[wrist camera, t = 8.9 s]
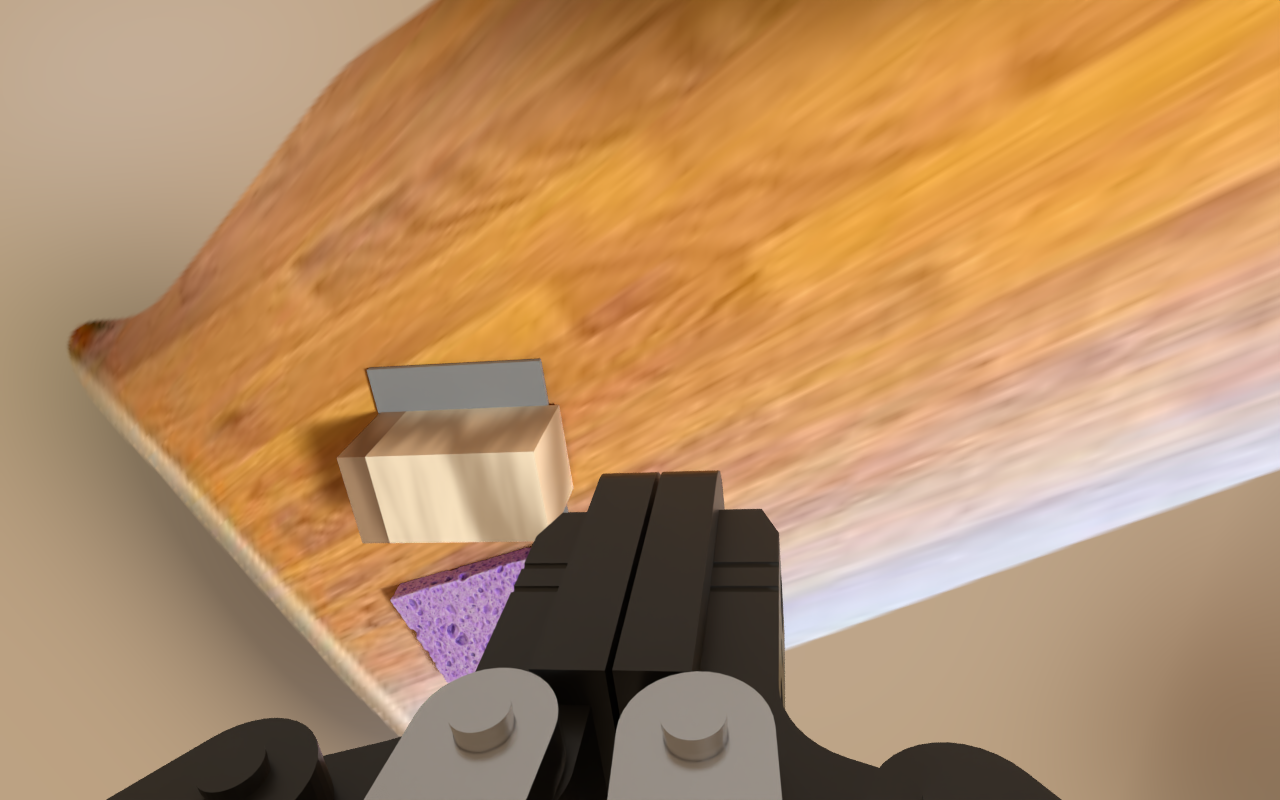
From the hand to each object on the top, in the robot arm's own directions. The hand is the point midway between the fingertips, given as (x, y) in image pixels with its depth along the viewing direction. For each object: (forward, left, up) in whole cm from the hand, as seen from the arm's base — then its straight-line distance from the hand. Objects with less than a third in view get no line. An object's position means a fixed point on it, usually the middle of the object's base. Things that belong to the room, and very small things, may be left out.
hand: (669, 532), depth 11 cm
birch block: (+10, +14, -26) cm, 31 cm away
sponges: (+15, +25, -30) cm, 42 cm away
